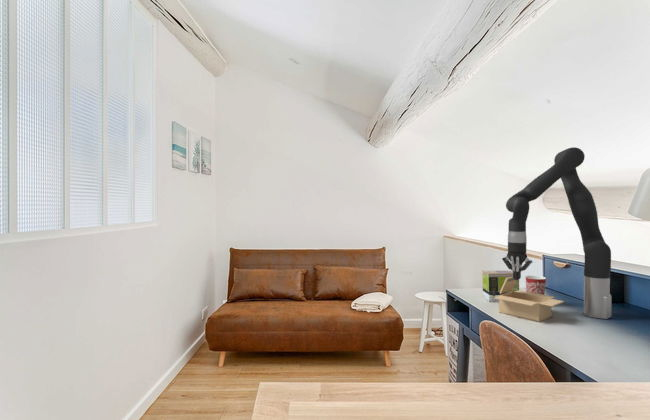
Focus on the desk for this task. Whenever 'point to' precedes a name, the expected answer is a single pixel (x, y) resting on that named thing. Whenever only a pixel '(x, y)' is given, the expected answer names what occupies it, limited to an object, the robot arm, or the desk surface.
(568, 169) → the robot arm
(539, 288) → the mug
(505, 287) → the flap
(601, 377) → the desk surface
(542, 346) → the desk surface
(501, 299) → the carton
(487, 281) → the tea box
